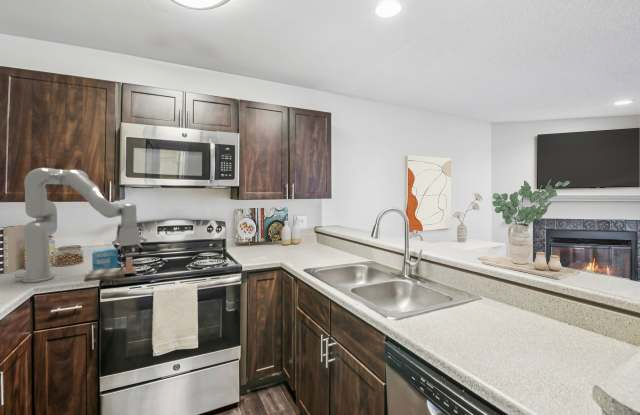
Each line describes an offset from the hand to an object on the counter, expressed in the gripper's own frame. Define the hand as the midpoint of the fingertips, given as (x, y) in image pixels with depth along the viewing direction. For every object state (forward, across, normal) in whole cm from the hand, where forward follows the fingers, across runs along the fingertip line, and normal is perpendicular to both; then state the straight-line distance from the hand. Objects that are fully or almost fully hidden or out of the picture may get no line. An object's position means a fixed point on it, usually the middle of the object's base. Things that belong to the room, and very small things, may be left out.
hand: (130, 254), depth 178 cm
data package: (+11, -13, +19) cm, 26 cm away
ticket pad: (+11, -12, 0) cm, 16 cm away
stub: (+10, -1, 0) cm, 10 cm away
